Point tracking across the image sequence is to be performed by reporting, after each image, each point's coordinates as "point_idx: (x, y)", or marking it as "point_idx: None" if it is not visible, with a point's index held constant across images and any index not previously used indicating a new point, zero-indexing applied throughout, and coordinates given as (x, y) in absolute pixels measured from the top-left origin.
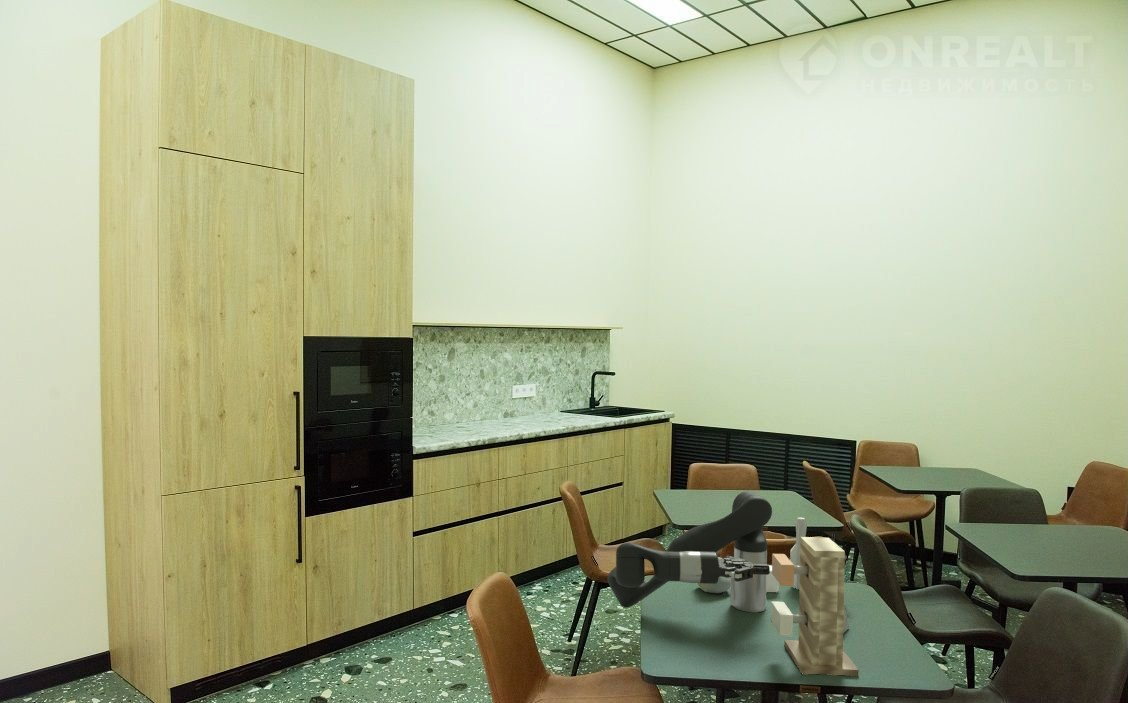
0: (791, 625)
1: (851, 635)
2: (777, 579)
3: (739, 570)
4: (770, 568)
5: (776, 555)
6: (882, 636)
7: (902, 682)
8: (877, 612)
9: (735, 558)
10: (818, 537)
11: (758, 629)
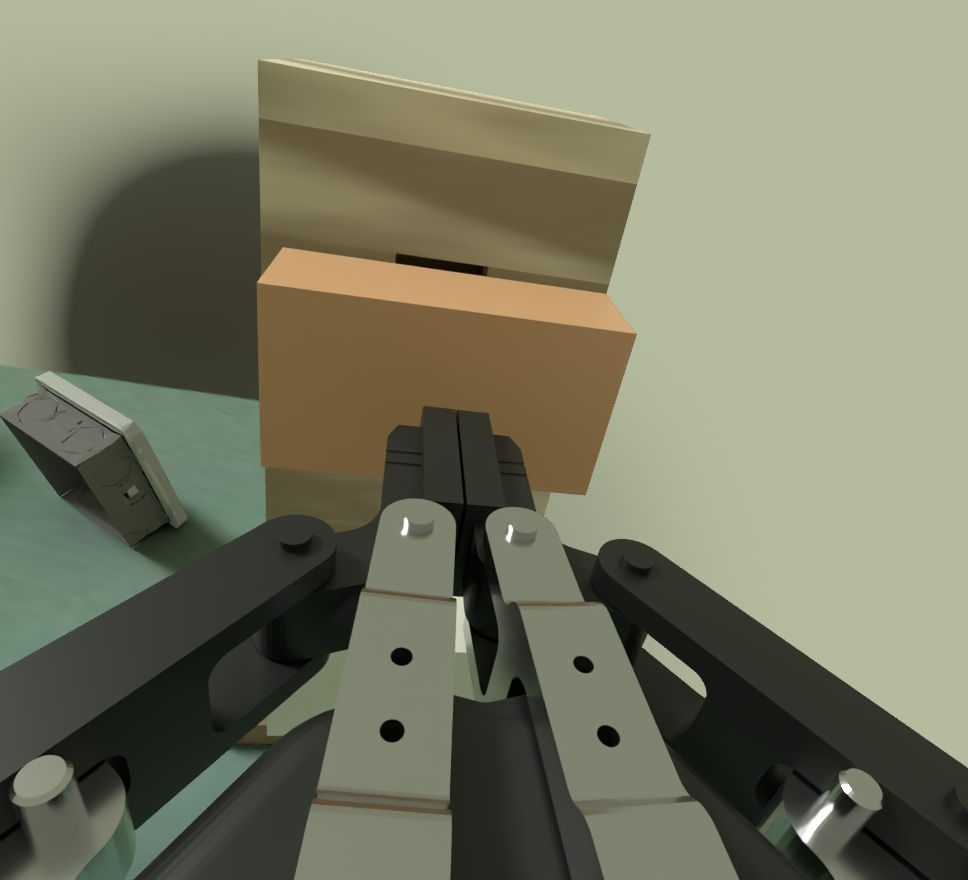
0: None
1: (172, 485)
2: None
3: (927, 761)
4: None
5: (326, 282)
6: (205, 428)
7: None
8: (10, 376)
9: (113, 671)
10: (288, 59)
11: None
